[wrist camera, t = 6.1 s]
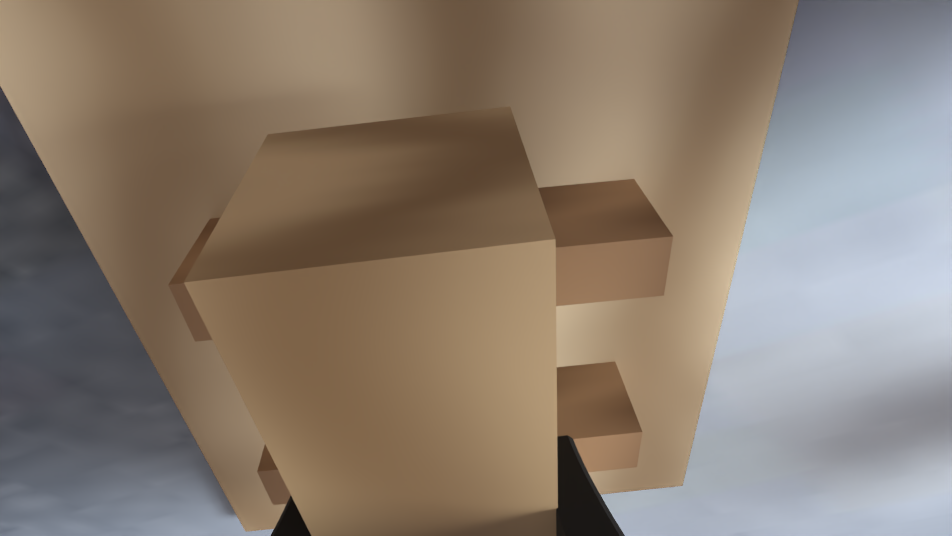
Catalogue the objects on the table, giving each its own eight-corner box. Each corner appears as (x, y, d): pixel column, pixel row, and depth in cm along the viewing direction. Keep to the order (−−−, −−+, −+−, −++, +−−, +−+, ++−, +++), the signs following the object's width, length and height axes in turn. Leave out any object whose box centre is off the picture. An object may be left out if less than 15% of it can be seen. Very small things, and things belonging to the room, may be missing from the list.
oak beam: (510, 106, 9) (555, 239, 6) (532, 508, 16) (559, 668, 13) (267, 134, 9) (183, 282, 6) (395, 524, 16) (388, 688, 13)
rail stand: (798, -96, 11) (923, -87, 8) (674, 467, 21) (711, 555, 19) (-29, -27, 11) (-188, 8, 8) (251, 511, 21) (224, 607, 18)
